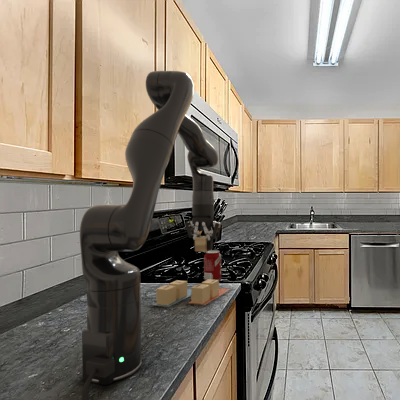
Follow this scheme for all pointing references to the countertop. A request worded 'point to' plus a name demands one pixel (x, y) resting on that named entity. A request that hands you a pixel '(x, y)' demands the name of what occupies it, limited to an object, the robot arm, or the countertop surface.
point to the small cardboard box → (201, 244)
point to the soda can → (212, 265)
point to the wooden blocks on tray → (206, 292)
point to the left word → (172, 293)
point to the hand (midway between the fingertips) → (203, 249)
